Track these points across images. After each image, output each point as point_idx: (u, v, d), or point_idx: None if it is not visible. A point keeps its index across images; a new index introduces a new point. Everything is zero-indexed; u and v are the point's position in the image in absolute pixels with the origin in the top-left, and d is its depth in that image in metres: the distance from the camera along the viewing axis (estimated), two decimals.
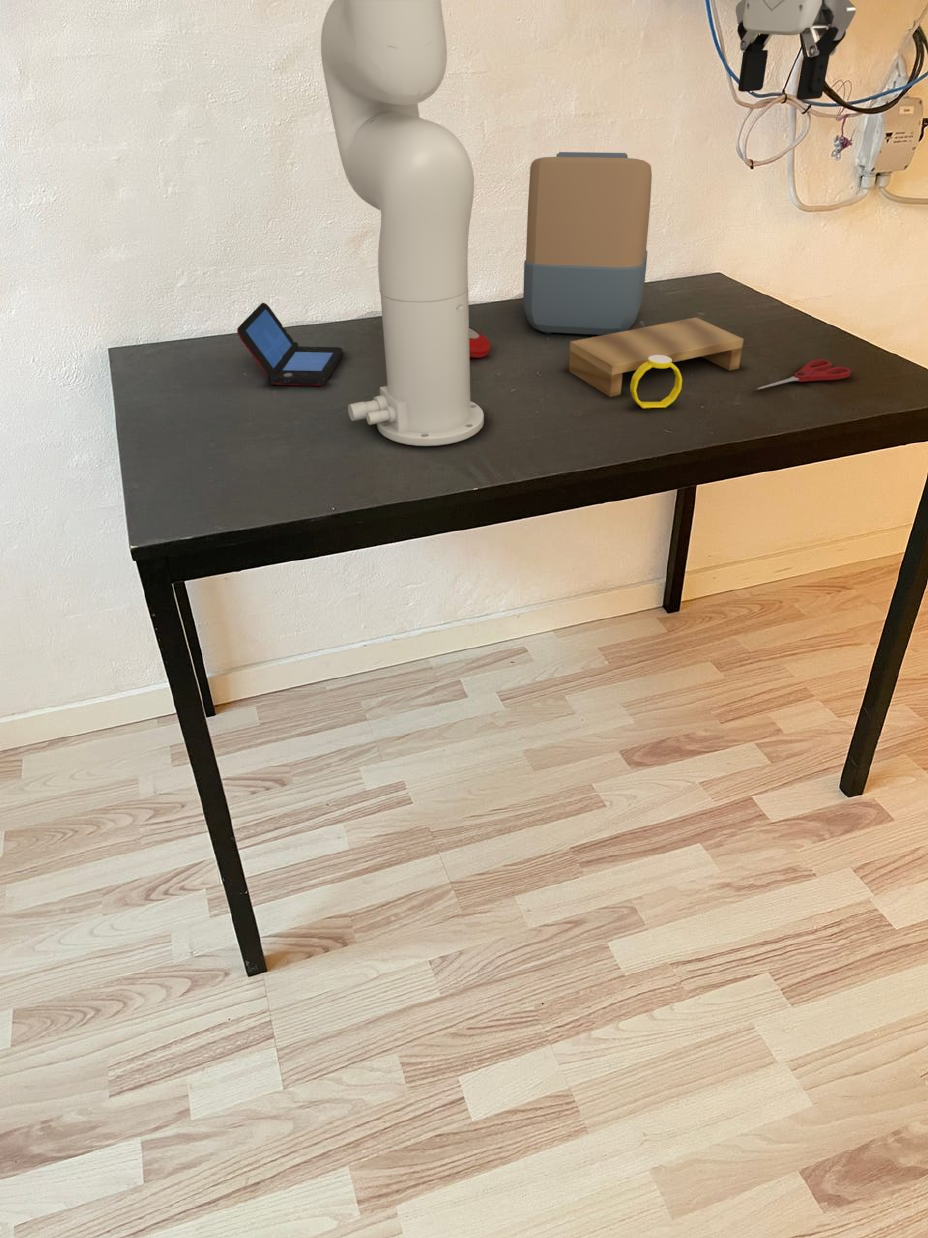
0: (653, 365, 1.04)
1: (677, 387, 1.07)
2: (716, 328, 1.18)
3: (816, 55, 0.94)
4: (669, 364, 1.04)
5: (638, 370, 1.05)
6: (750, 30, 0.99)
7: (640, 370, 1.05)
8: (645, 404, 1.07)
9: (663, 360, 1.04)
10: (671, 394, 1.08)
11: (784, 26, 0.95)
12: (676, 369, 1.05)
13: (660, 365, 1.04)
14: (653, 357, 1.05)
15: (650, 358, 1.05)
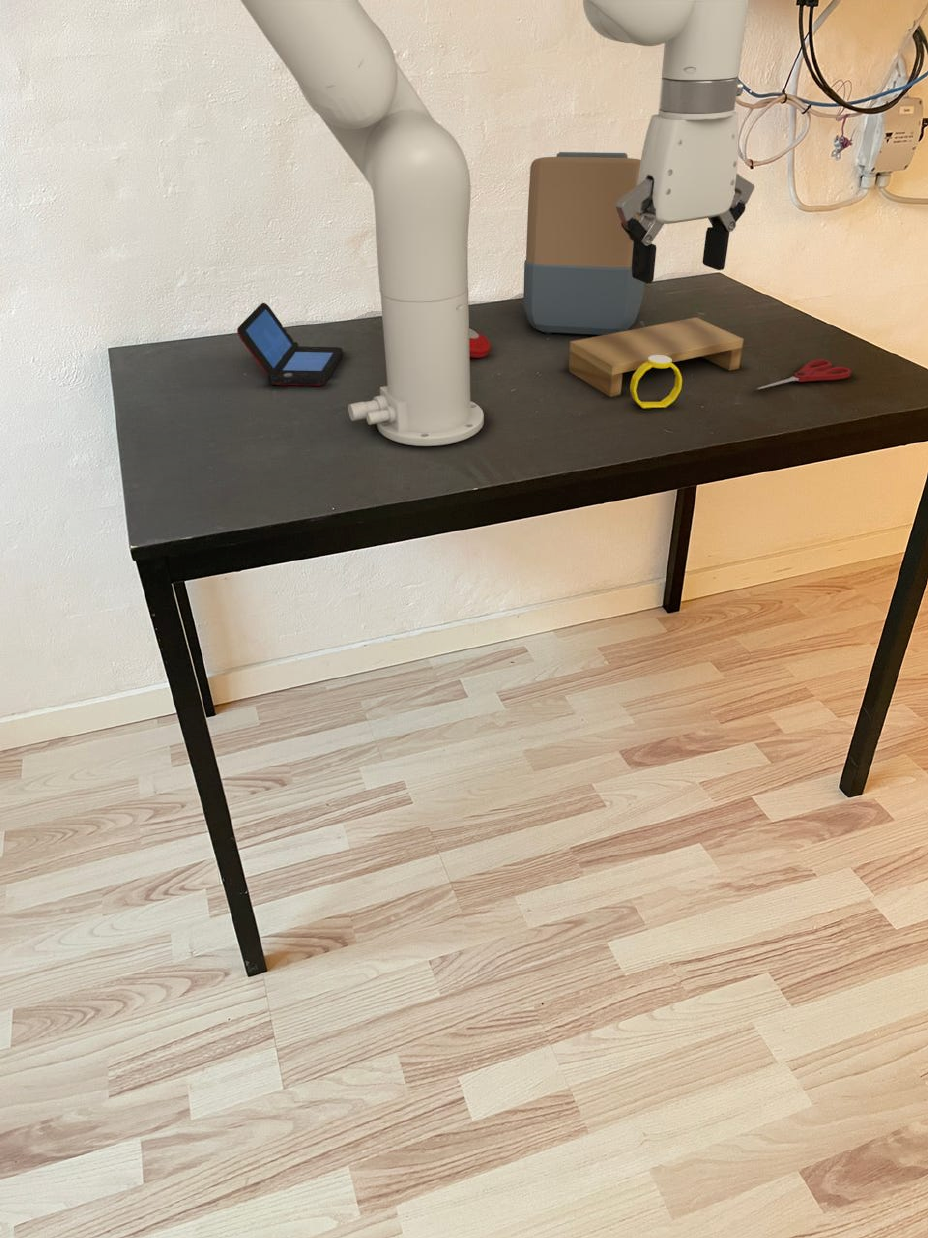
0: (653, 365, 1.04)
1: (677, 387, 1.07)
2: (716, 328, 1.18)
3: (631, 239, 0.97)
4: (669, 364, 1.04)
5: (638, 370, 1.05)
6: None
7: (640, 370, 1.05)
8: (645, 404, 1.07)
9: (663, 360, 1.04)
10: (671, 394, 1.08)
11: None
12: (676, 369, 1.05)
13: (660, 365, 1.04)
14: (653, 357, 1.05)
15: (650, 358, 1.05)
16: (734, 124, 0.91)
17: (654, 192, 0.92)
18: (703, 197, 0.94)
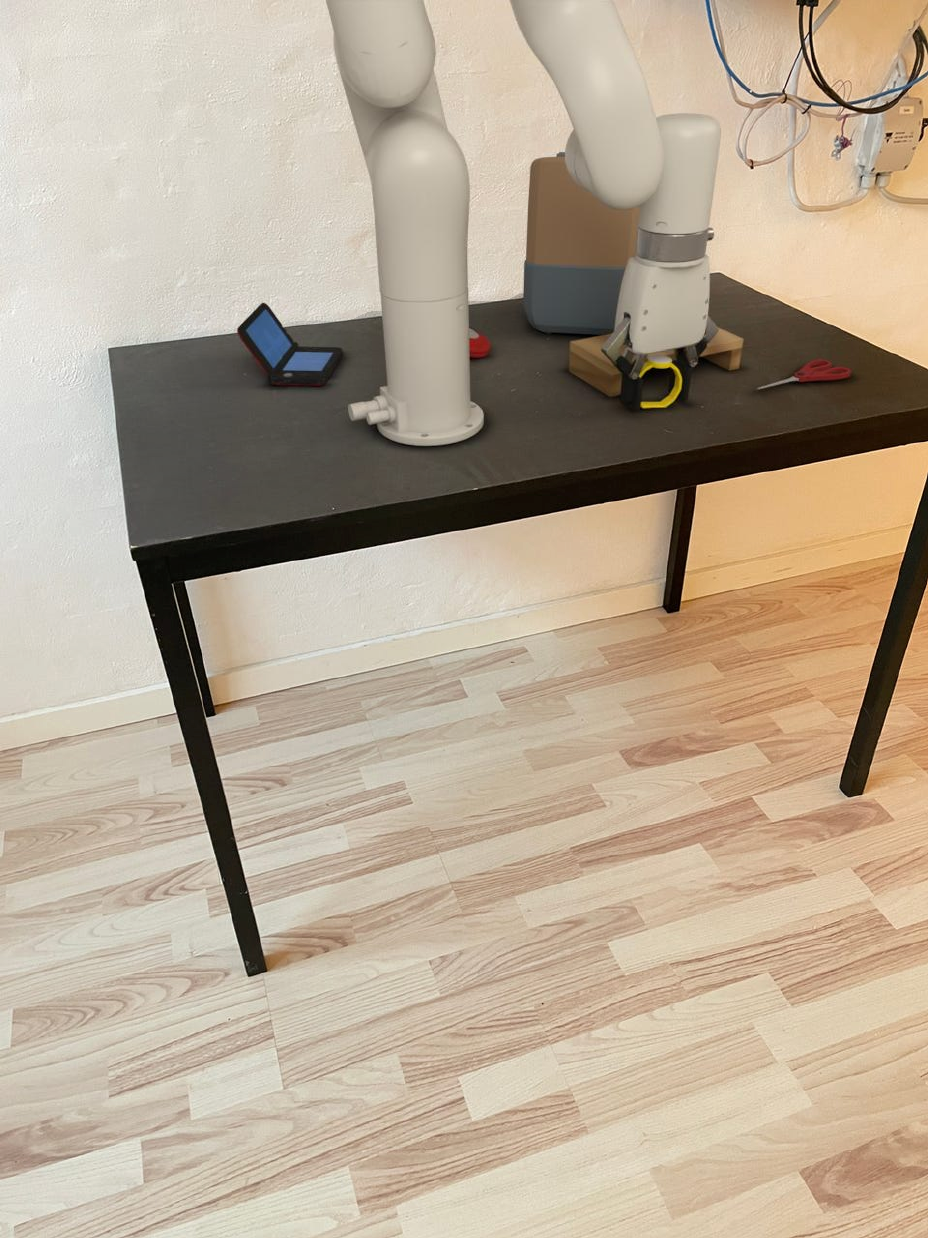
0: (653, 365, 1.04)
1: (677, 387, 1.07)
2: None
3: None
4: (669, 364, 1.04)
5: None
6: None
7: None
8: (645, 404, 1.07)
9: (663, 360, 1.04)
10: (671, 394, 1.08)
11: None
12: (676, 369, 1.05)
13: (660, 365, 1.04)
14: (653, 357, 1.05)
15: (650, 358, 1.05)
16: (706, 267, 0.98)
17: (631, 328, 0.99)
18: (677, 331, 1.01)
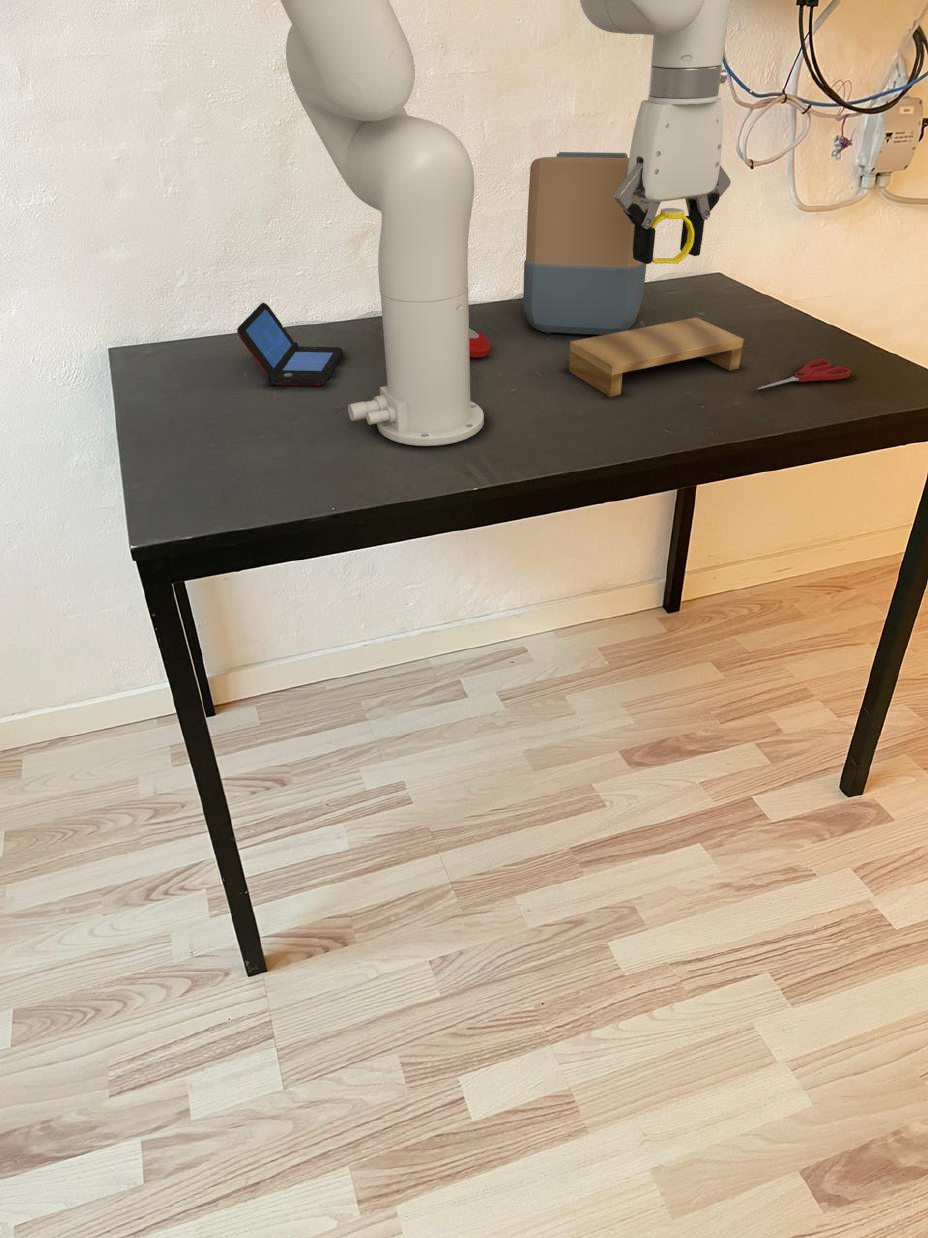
0: (666, 216, 1.04)
1: (689, 241, 1.07)
2: (716, 328, 1.18)
3: (632, 223, 1.05)
4: (682, 215, 1.04)
5: None
6: None
7: None
8: (657, 259, 1.08)
9: (676, 211, 1.04)
10: (683, 250, 1.08)
11: None
12: (688, 221, 1.05)
13: (673, 215, 1.04)
14: (666, 209, 1.05)
15: (663, 210, 1.05)
16: (718, 109, 0.98)
17: (643, 172, 1.00)
18: (689, 177, 1.01)
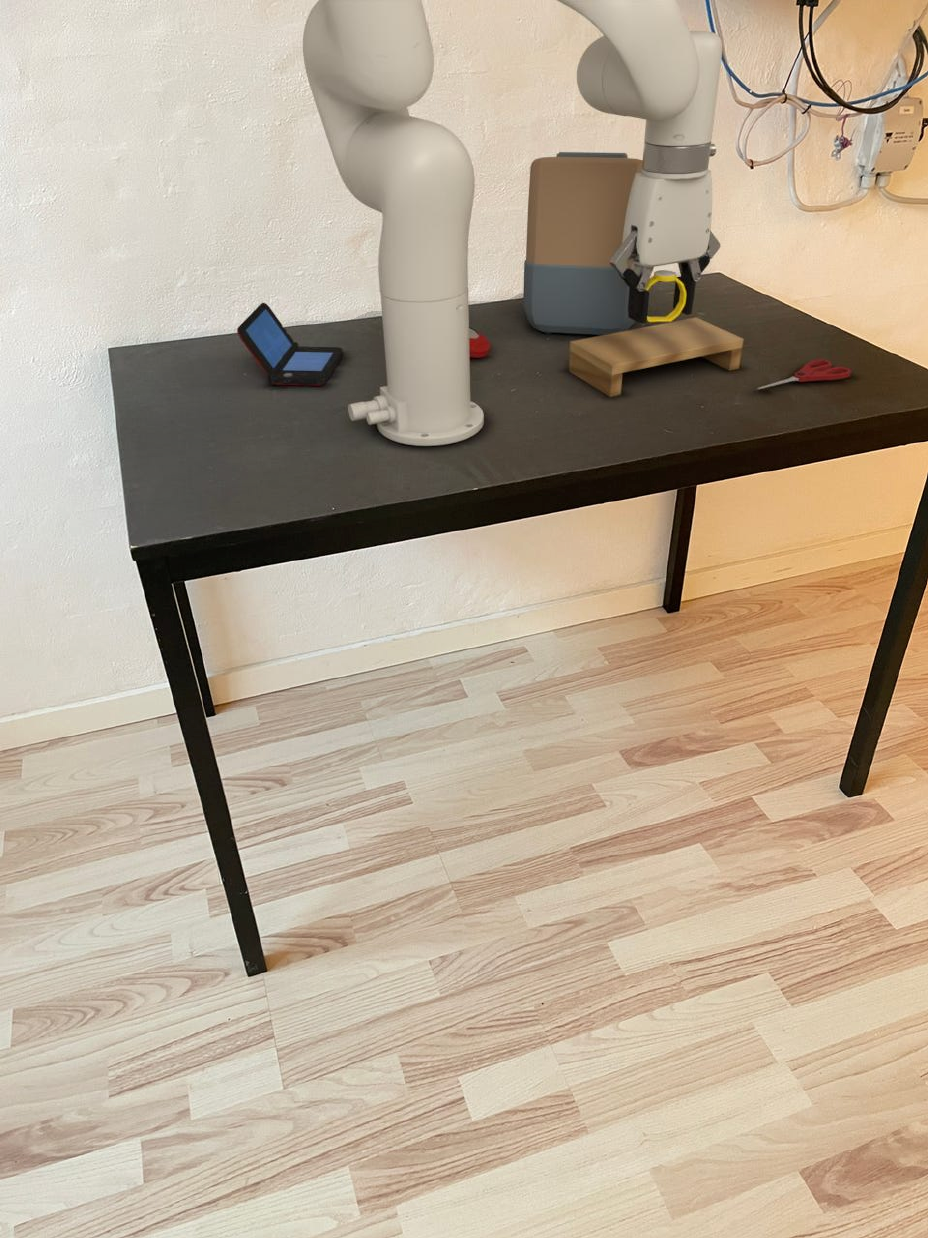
0: (659, 279, 1.10)
1: (682, 301, 1.12)
2: (716, 328, 1.18)
3: (627, 285, 1.10)
4: (674, 277, 1.10)
5: None
6: None
7: None
8: (651, 318, 1.13)
9: (668, 274, 1.10)
10: (676, 309, 1.13)
11: None
12: (681, 283, 1.11)
13: (665, 278, 1.09)
14: (659, 272, 1.11)
15: (656, 272, 1.10)
16: (708, 181, 1.04)
17: (638, 240, 1.05)
18: (681, 244, 1.06)
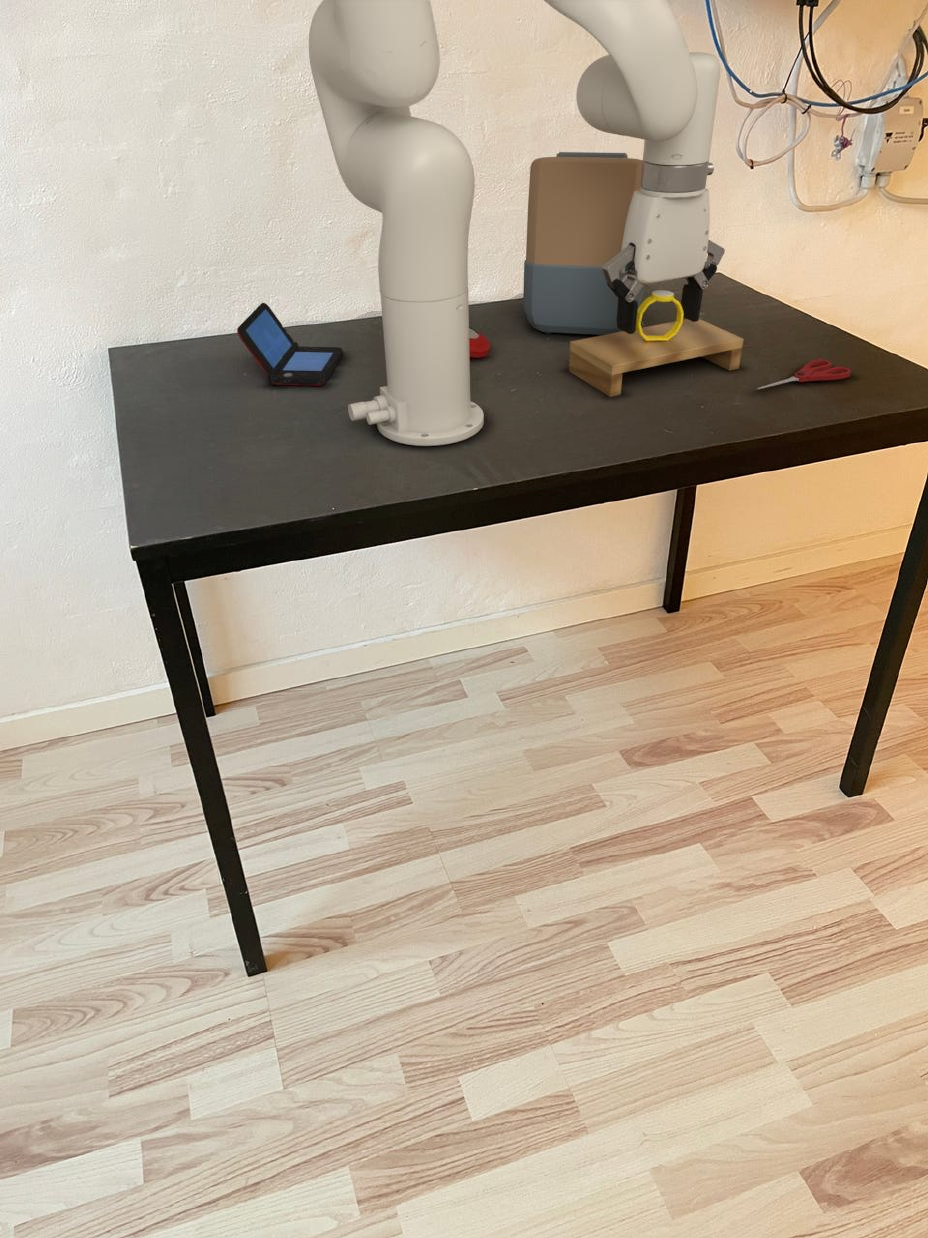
0: (656, 299, 1.11)
1: (679, 321, 1.14)
2: (716, 328, 1.18)
3: (616, 296, 1.10)
4: (671, 298, 1.11)
5: (642, 304, 1.12)
6: None
7: (644, 304, 1.12)
8: (649, 337, 1.15)
9: (666, 294, 1.11)
10: (673, 328, 1.15)
11: None
12: (678, 303, 1.12)
13: (663, 298, 1.11)
14: (657, 292, 1.12)
15: (653, 292, 1.12)
16: (706, 200, 1.05)
17: (636, 257, 1.06)
18: (679, 261, 1.08)
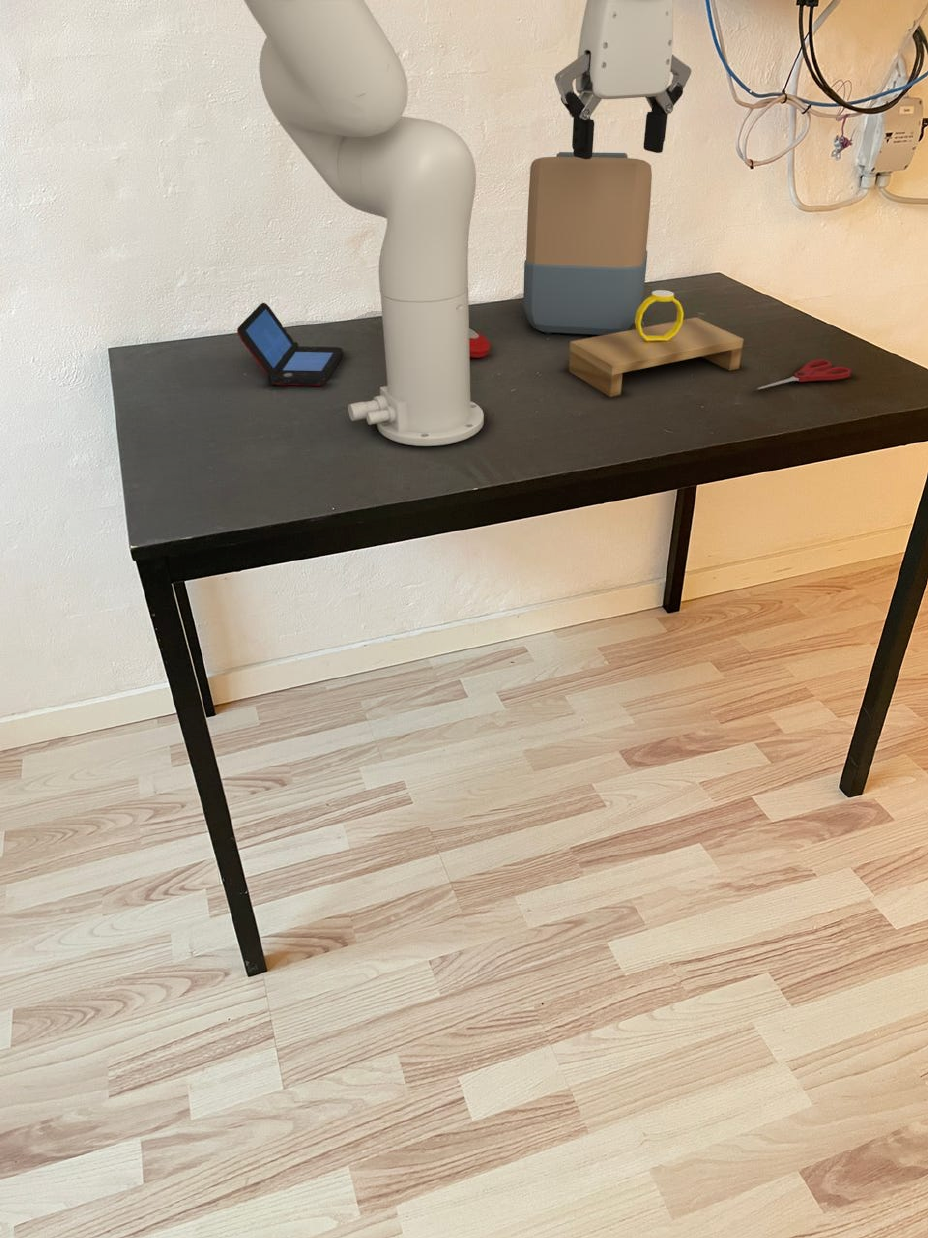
0: (656, 299, 1.11)
1: (679, 321, 1.14)
2: (716, 328, 1.18)
3: (571, 116, 1.01)
4: (671, 298, 1.11)
5: (642, 304, 1.12)
6: None
7: (644, 304, 1.12)
8: (649, 337, 1.15)
9: (666, 294, 1.11)
10: (673, 328, 1.15)
11: None
12: (678, 303, 1.12)
13: (663, 298, 1.11)
14: (657, 292, 1.12)
15: (654, 292, 1.12)
16: (668, 1, 0.96)
17: (591, 66, 0.97)
18: (639, 73, 0.98)
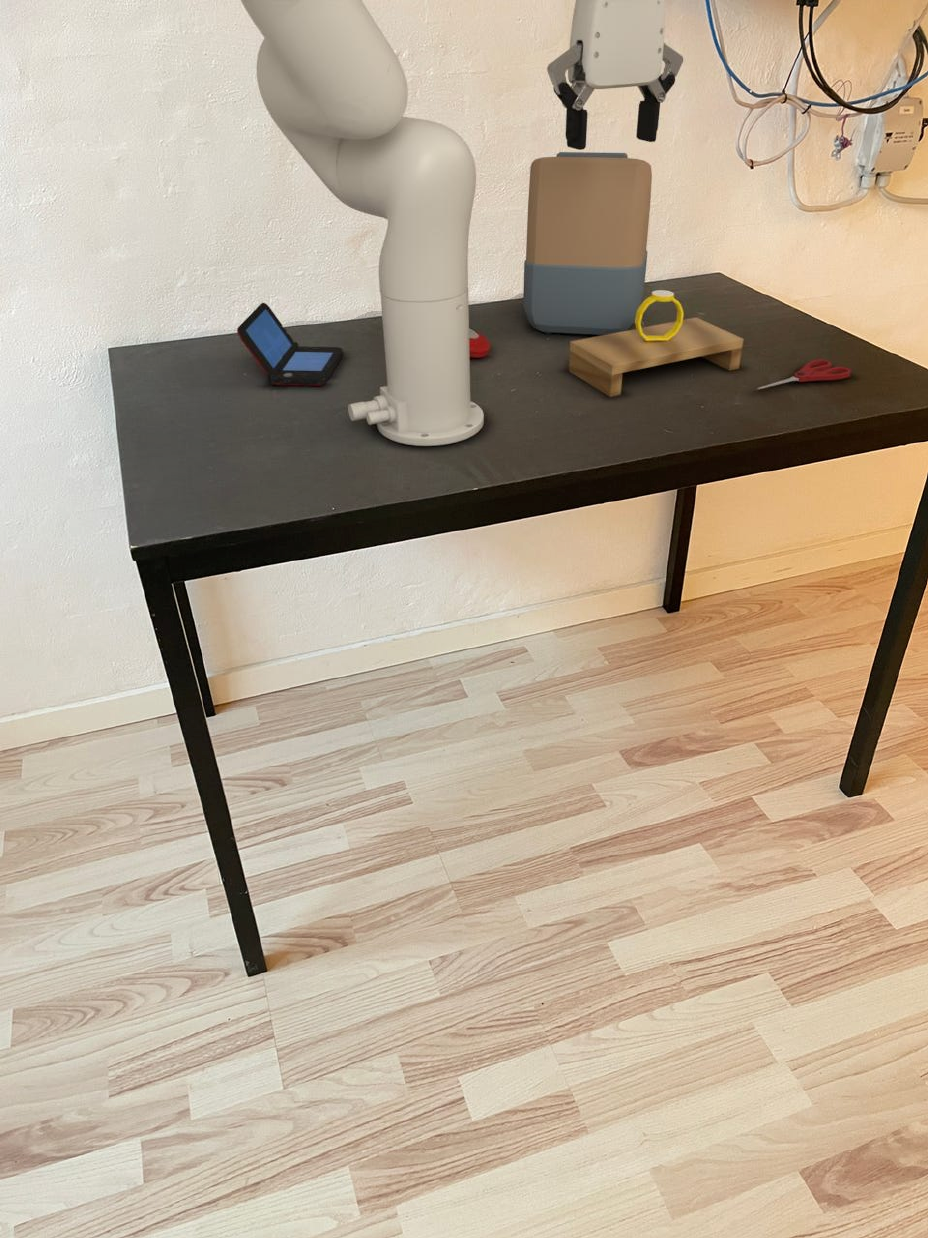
0: (656, 299, 1.11)
1: (679, 321, 1.14)
2: (716, 328, 1.18)
3: (564, 106, 1.01)
4: (671, 298, 1.11)
5: (642, 304, 1.12)
6: None
7: (644, 304, 1.12)
8: (649, 337, 1.15)
9: (666, 294, 1.11)
10: (673, 328, 1.15)
11: None
12: (678, 303, 1.12)
13: (663, 298, 1.11)
14: (657, 292, 1.12)
15: (653, 292, 1.12)
16: None
17: (583, 56, 0.97)
18: (631, 63, 0.98)
